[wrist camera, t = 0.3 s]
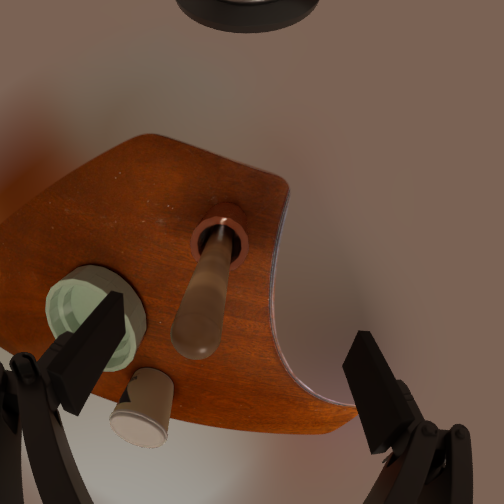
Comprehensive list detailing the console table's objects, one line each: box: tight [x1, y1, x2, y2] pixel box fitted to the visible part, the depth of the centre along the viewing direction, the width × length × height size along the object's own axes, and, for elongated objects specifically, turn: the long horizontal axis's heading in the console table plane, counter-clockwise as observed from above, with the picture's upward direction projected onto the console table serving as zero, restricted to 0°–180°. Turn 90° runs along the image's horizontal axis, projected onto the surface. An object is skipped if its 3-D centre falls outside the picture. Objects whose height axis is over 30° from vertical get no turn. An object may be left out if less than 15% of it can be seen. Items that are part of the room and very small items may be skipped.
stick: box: [170, 224, 235, 360], centre depth 23 cm, size 2×2×24 cm
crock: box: [190, 202, 249, 271], centre depth 30 cm, size 5×6×10 cm
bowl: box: [45, 265, 146, 372], centre depth 36 cm, size 16×16×6 cm
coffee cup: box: [110, 368, 174, 448], centre depth 38 cm, size 9×9×12 cm
